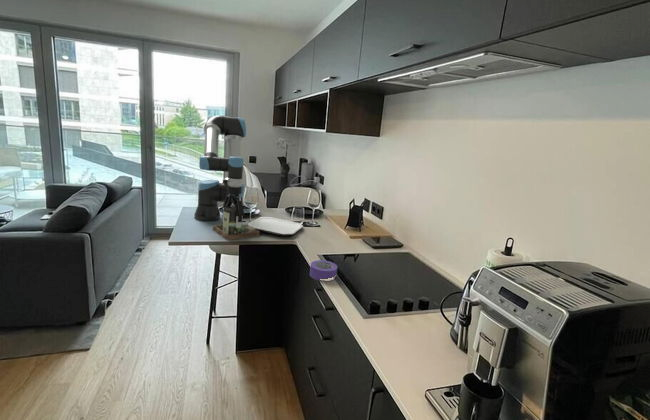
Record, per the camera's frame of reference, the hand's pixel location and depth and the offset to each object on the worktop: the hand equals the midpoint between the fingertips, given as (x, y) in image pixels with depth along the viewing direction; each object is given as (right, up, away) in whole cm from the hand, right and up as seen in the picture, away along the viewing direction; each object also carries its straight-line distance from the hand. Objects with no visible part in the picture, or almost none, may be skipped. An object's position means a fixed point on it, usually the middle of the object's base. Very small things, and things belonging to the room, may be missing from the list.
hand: (232, 224), depth 185 cm
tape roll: (+50, -21, -37) cm, 65 cm away
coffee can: (-1, -5, +2) cm, 6 cm away
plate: (+21, -3, +18) cm, 28 cm away
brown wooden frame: (+1, -5, +3) cm, 6 cm away
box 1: (+3, -4, +10) cm, 11 cm away
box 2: (+8, -6, +4) cm, 11 cm away
